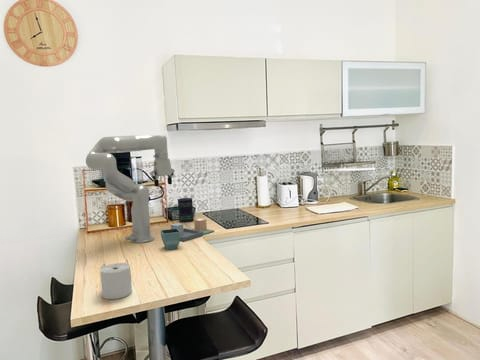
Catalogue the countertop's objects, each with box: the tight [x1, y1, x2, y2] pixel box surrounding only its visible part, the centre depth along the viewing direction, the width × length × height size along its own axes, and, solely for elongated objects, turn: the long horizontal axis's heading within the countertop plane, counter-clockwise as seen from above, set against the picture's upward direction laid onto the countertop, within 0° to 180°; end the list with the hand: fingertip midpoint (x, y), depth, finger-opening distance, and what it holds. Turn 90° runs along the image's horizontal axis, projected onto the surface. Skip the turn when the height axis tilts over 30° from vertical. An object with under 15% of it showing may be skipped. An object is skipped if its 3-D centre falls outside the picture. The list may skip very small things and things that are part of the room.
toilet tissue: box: [99, 262, 133, 300], centre depth 143 cm, size 11×12×10 cm
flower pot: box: [160, 228, 181, 250], centre depth 199 cm, size 9×9×9 cm
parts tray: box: [180, 227, 204, 243], centre depth 220 cm, size 14×16×2 cm
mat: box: [191, 228, 215, 236], centre depth 230 cm, size 8×14×1 cm, turn 48°
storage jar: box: [177, 197, 195, 224], centre depth 259 cm, size 10×10×15 cm
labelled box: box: [193, 218, 208, 232], centre depth 229 cm, size 5×5×7 cm
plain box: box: [170, 222, 184, 236], centre depth 220 cm, size 5×5×6 cm
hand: (163, 185), depth 231 cm, fingers open, 9 cm apart
